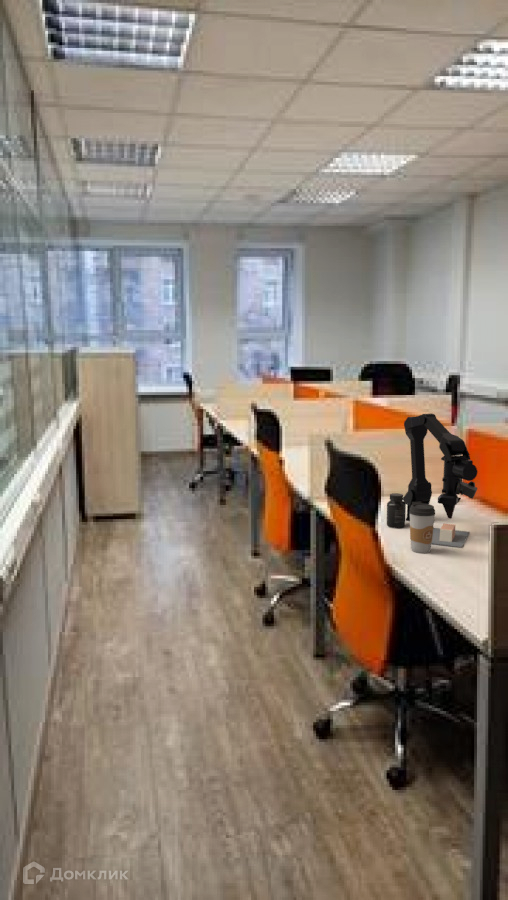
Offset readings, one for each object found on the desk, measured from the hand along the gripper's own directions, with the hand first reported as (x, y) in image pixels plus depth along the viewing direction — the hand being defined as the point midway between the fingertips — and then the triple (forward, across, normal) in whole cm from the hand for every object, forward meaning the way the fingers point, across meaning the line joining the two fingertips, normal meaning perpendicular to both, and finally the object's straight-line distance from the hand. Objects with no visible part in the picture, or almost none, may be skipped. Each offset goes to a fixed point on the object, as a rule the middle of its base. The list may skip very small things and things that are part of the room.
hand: (450, 518), depth 237 cm
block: (+4, 0, 0) cm, 4 cm away
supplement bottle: (+6, +4, +20) cm, 21 cm away
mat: (+6, -3, 0) cm, 7 cm away
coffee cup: (+6, -21, +6) cm, 22 cm away
